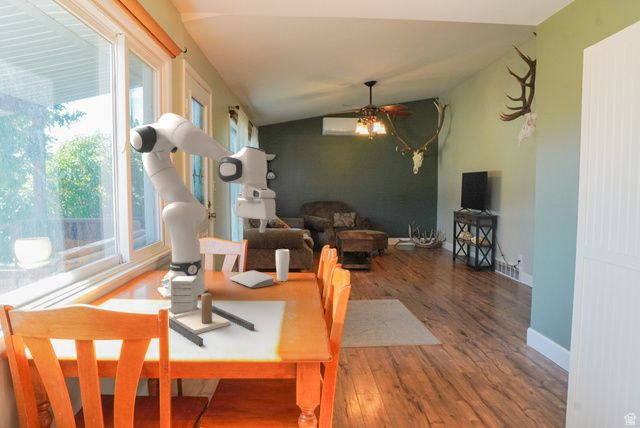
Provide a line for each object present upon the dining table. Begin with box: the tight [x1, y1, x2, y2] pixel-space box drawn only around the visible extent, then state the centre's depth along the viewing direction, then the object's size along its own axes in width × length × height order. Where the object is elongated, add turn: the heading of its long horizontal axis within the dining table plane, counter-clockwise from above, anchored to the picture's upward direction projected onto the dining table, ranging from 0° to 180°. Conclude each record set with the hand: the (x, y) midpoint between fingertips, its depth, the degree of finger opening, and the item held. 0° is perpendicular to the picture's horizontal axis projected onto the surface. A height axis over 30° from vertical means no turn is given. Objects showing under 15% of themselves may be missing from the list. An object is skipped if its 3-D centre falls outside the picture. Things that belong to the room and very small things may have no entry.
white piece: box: [275, 248, 290, 282], centre depth 182 cm, size 7×7×15 cm
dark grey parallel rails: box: [168, 305, 255, 347], centre depth 119 cm, size 26×18×2 cm
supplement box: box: [170, 276, 199, 315], centre depth 130 cm, size 7×7×13 cm
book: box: [229, 270, 277, 289], centre depth 177 cm, size 15×23×4 cm, turn 41°
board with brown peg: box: [160, 292, 231, 335], centre depth 125 cm, size 26×12×10 cm, turn 44°
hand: (254, 231), depth 133 cm, fingers open, 8 cm apart
